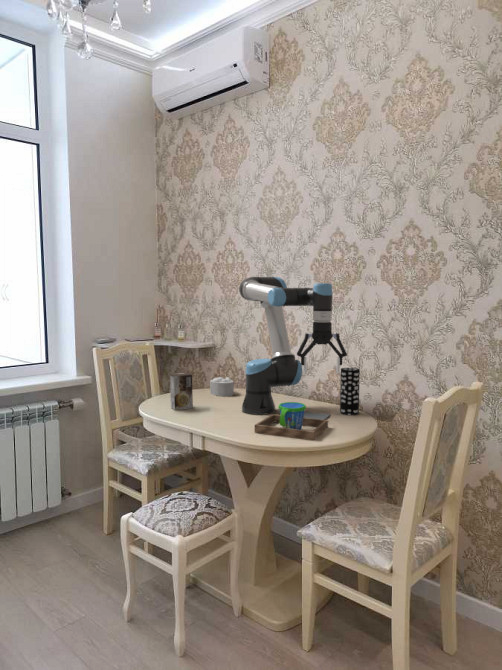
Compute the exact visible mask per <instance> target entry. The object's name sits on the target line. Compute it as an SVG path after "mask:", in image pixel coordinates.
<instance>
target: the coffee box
mask: <svg viewBox="0 0 502 670" xmlns="http://www.w3.org/2000/svg"><path fill="white" fill-rule="evenodd" d="M169 379H170V383H169V384H170V408H171V409H172V408H173V409H172V410H173V411H178V410H179V409H180V410H186V409H187V410H188V409H194V405H193V402H194V401H193V395H194V394H193V374H191V373H190V372H178V373H169Z"/></svg>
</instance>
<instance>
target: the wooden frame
mask: <svg viewBox="0 0 502 670" xmlns="http://www.w3.org/2000/svg"><path fill="white" fill-rule="evenodd" d="M280 416H281V414H275V413H274V414H272V413H271V415H268V416H267V417H265V418H264V419H262V420H261V421H258V423H255V424H254V433H255V434H263V435H270V436H279V437H285V438H286V437H287V438H294V439H302V440H311V441H315V439H317V438H318V437H319V436H321V434H322V433H324V432H325V431H326V430H327V429H328V428H329V419H326V420H321V419H312V418H303V423H302V426H307V427H312V428H313V427H315V428H314V429H313V430H306V429H301V430H298V429H290V428H282V426H281V427H280V426H272V424H273V423H279V422H280Z"/></svg>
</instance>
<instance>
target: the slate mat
mask: <svg viewBox="0 0 502 670" xmlns="http://www.w3.org/2000/svg"><path fill="white" fill-rule="evenodd" d="M330 416H331V414H328V413H320V412H319V413H318V412H311V411H310V412H309V411H304V417H303V418H312V419H321V420H328V418H330Z"/></svg>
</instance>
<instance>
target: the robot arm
mask: <svg viewBox="0 0 502 670" xmlns="http://www.w3.org/2000/svg"><path fill="white" fill-rule="evenodd" d="M238 290H239V291H238V292H239V294H240V297H242V299H244V300H247V301H249V302H251V301H252V302H260V303H259V304H260V307H261V308H262V309H264V313H265V318H266V324H267V330H268V336H269V340H270V341H269V342H270V347H271V354H272V357H271V358H258V359H252V360H250V361H248V362H247V363H246V364H245V372H244V373H245V395H244V399H243V402H242V405H241V411H242V412H243V413H245V414H249V415H266V414H267V415H268V414H272V413H274V412H275V411H276V406H275V405H276V404H275V402H274V399H273V395H272V388H274V387H275V388H277V387H290V386H295V385H298V384H299V383H300V382H301V380H302V375H303V374H304V375H305V374H307V357H306V356H307V355H308V354H309V352H310V351H311V350H312V349H313V348H314V347H315V346H316V345H324V346H325V345H327V344H328V345H329V346H330V347H331V349H332V350H333V351H334V353H336V355H337V357H336V375H337V374H338V375H341V367H340V366H343V357H347V356H348V354H347V353H348V352H347V351H346V348H345V347H344V345H343V343H342V341H341V338H340V334H339V333H338V332H336V333H332V326H333V325H332V320H333V316H332V315H333V312H332V311H333V310H332V309H333V285H332V284H331V283H329V282H327V283H326V282H322V283H320V282H318V283H317V282H316V283H314V284H313V287H287V284H286V282H285V280H284V279H283V278H281V277H278V276H251V277H247V278H245V279H243V280H242V281H241V283H239V289H238ZM283 307H312V320H313V322H312V333H308V332H305V334H304V338H303V340H302V343H301V344H300V346H299V348H298V350H297V352H296V355H297V357H300V360H298V359H296V356H295V354H294V353H293V352H292V351H291V346H290V341H289V334H288V330H287V326H286V321H285V314H284V309H283ZM311 338H312V341H311V343H310V344H309V345H308V346H307V347H305V346H306V345H307V343H308V340H310V339H311ZM332 338H333V339H335V341H336V343H337V345H338V347H339V349H340V351H341V352H340V351H339V349H338V348H337V347H336V346H335V344H334V343H333V342H332V341H331V339H332ZM304 349H305V350H304Z"/></svg>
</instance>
